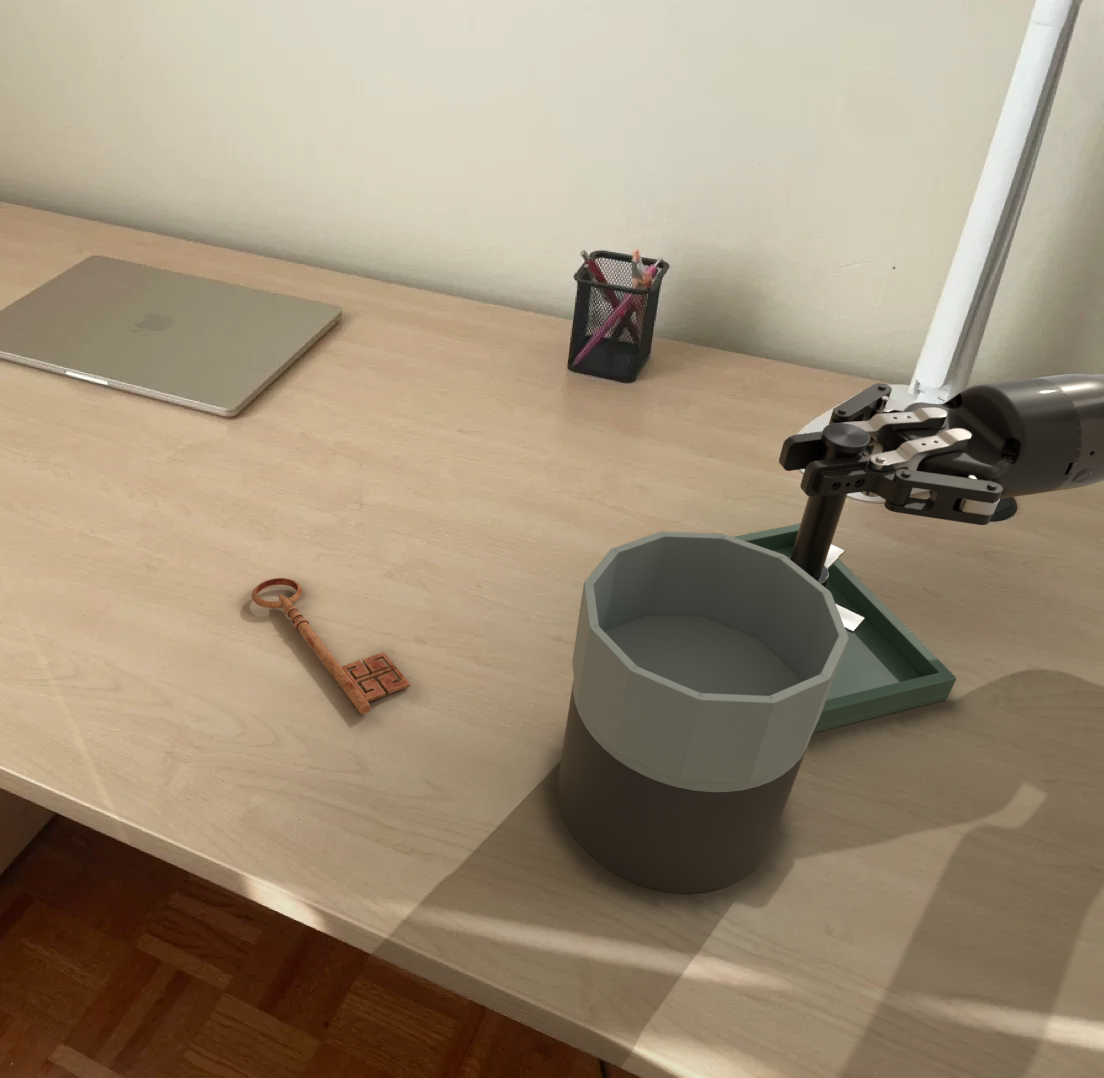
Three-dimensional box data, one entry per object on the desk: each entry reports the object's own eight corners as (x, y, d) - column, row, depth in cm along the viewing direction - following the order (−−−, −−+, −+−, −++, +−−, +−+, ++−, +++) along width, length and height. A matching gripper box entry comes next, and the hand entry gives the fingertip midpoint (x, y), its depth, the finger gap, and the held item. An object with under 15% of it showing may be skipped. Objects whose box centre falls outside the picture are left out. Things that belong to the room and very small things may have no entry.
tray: (947, 699, 71) (957, 677, 70) (768, 744, 68) (776, 722, 67) (797, 543, 84) (803, 522, 83) (642, 574, 81) (646, 553, 80)
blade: (884, 599, 75) (948, 432, 66) (826, 666, 70) (886, 495, 61) (767, 545, 79) (812, 382, 71) (704, 604, 74) (744, 436, 66)
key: (413, 696, 72) (313, 572, 82) (415, 686, 72) (313, 562, 82) (338, 723, 69) (244, 592, 80) (339, 714, 69) (244, 582, 79)
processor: (821, 840, 62) (901, 648, 53) (643, 929, 58) (693, 738, 48) (681, 694, 72) (726, 508, 62) (517, 762, 67) (538, 573, 57)
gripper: (992, 334, 72) (755, 361, 70) (1144, 444, 61) (871, 481, 59) (956, 427, 77) (733, 456, 74) (1091, 545, 66) (836, 583, 64)
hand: (795, 467), depth 67 cm, fingers closed on blade
